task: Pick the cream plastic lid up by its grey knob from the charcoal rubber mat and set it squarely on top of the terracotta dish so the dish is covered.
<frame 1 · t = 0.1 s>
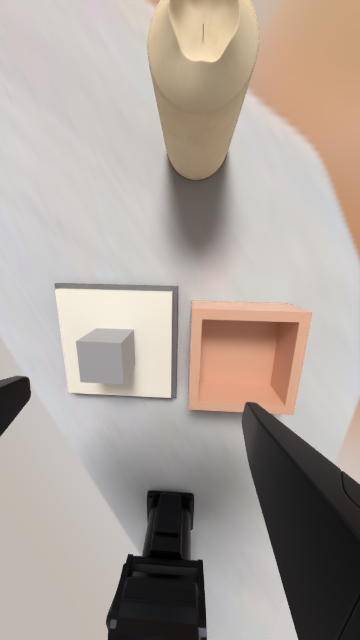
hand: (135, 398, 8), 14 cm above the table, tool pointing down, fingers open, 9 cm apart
candle: (197, 147, 19), on the table
mat: (120, 342, 23), on the table
dish: (235, 346, 23), on the table
lid: (118, 343, 23), point 1 cm above the table, touching mat
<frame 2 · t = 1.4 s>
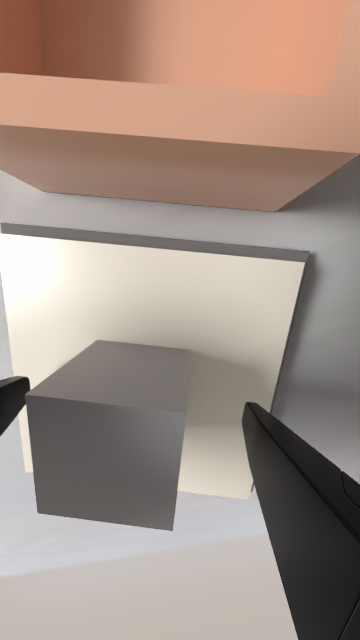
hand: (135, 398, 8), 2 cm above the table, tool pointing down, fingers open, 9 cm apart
mat: (146, 370, 11), on the table
dish: (165, 50, 7), on the table
lid: (144, 376, 10), point 1 cm above the table, touching mat
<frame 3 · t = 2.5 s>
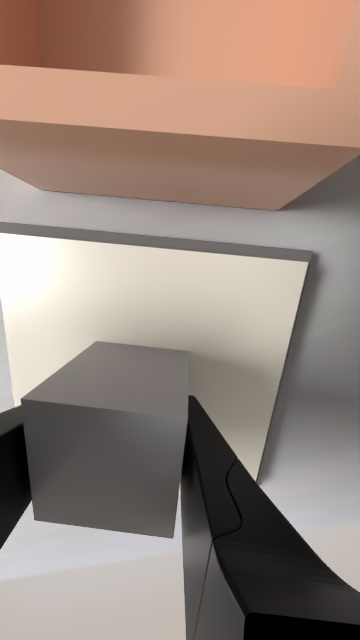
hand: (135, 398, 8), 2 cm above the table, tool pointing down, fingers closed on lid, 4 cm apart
mat: (146, 372, 11), on the table
dish: (165, 45, 7), on the table
lid: (144, 378, 10), point 1 cm above the table, touching gripper, mat
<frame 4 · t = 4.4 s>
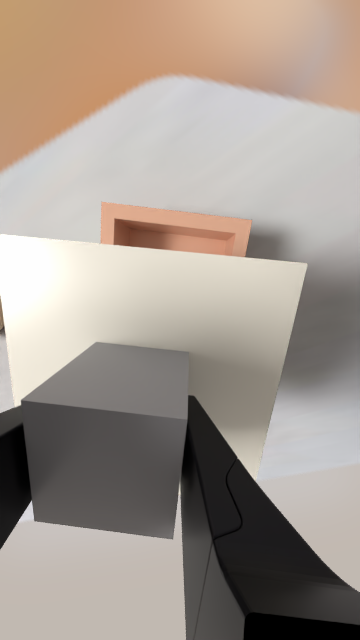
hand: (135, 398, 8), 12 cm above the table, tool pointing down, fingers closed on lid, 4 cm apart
dish: (173, 282, 19), on the table
lid: (144, 379, 10), point 10 cm above the table, touching gripper
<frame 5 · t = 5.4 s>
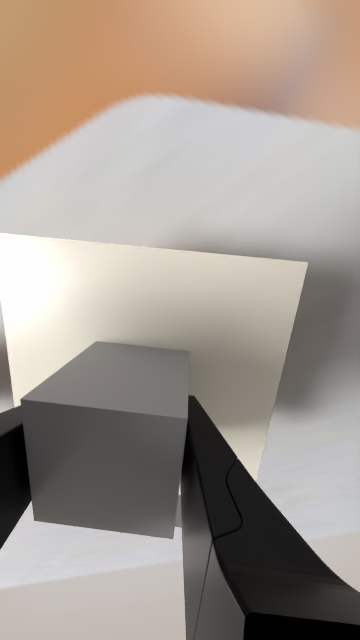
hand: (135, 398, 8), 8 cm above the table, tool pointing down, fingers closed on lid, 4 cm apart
lid: (144, 378, 10), point 6 cm above the table, touching gripper
when the fingers open (7 cm above the table, at t = 6.3 s): lid stays where it is, resting on dish.
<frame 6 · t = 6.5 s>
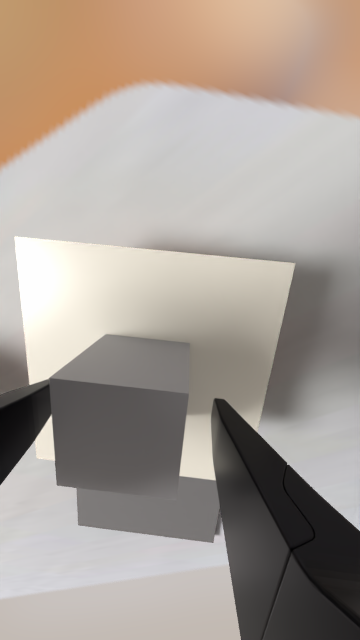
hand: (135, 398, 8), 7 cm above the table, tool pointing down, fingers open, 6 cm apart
mat: (150, 474, 18), on the table
lid: (148, 368, 11), point 4 cm above the table, touching dish
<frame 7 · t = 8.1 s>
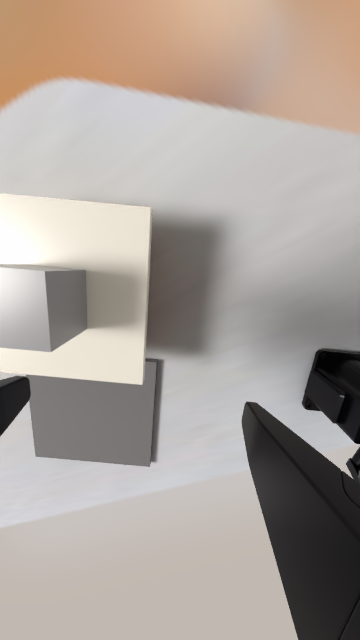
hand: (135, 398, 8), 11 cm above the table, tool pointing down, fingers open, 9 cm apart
mat: (93, 409, 22), on the table
lid: (63, 296, 14), point 4 cm above the table, touching dish
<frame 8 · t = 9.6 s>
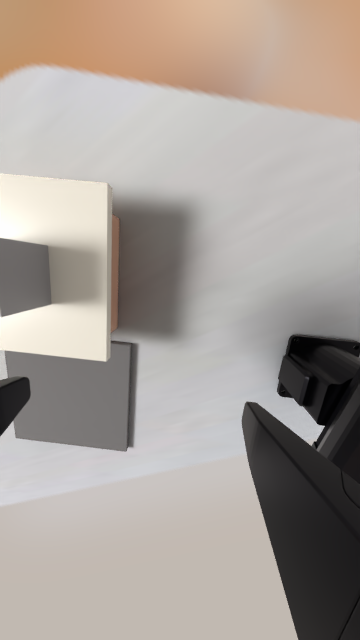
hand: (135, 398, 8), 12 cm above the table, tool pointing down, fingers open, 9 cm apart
mat: (71, 392, 23), on the table
dish: (66, 271, 19), on the table
lid: (30, 272, 15), point 4 cm above the table, touching dish
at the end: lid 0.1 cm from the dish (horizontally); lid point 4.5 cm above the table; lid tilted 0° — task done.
